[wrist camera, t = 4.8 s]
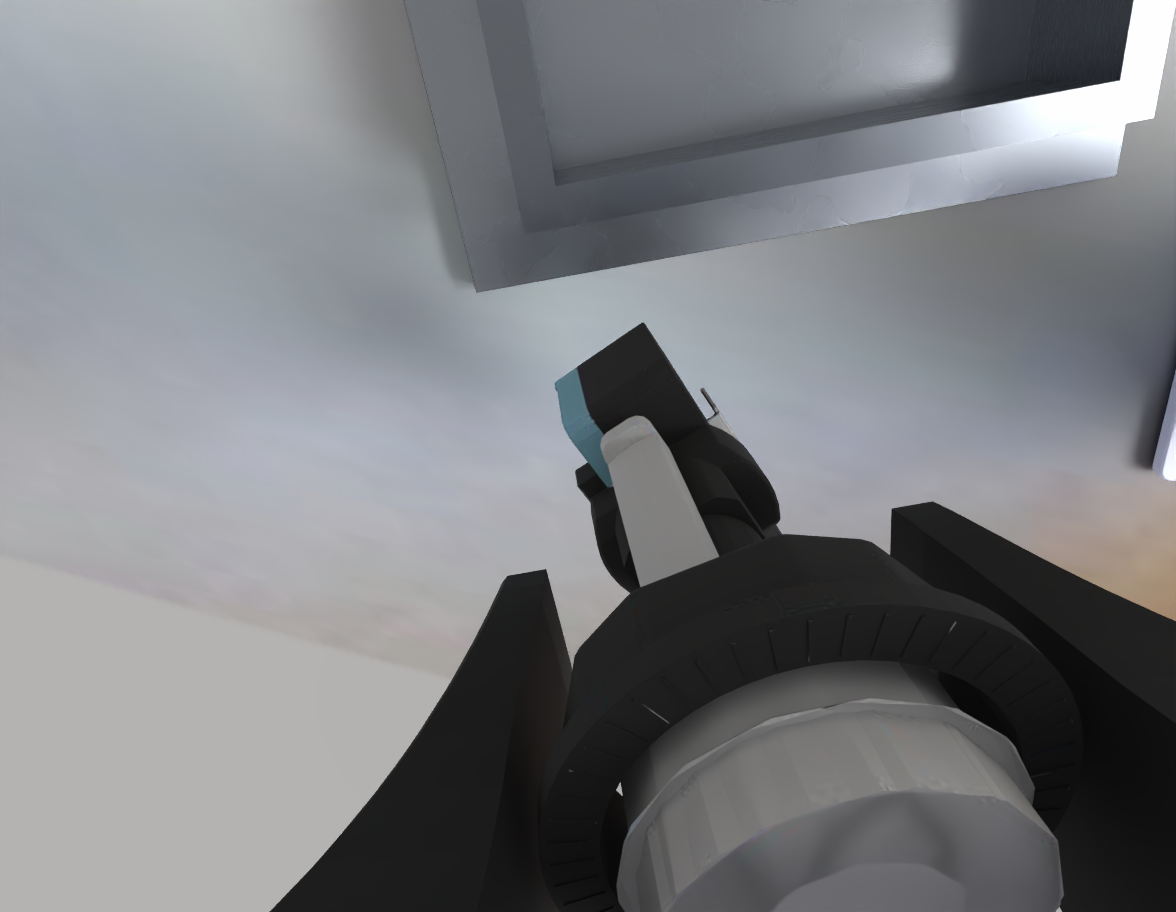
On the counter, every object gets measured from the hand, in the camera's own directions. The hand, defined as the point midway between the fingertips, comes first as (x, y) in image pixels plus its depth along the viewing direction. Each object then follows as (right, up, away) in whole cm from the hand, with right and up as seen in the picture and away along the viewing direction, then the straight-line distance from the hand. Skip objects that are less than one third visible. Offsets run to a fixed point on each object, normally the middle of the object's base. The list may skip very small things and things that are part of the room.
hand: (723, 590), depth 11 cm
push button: (0, +2, +4) cm, 5 cm away
